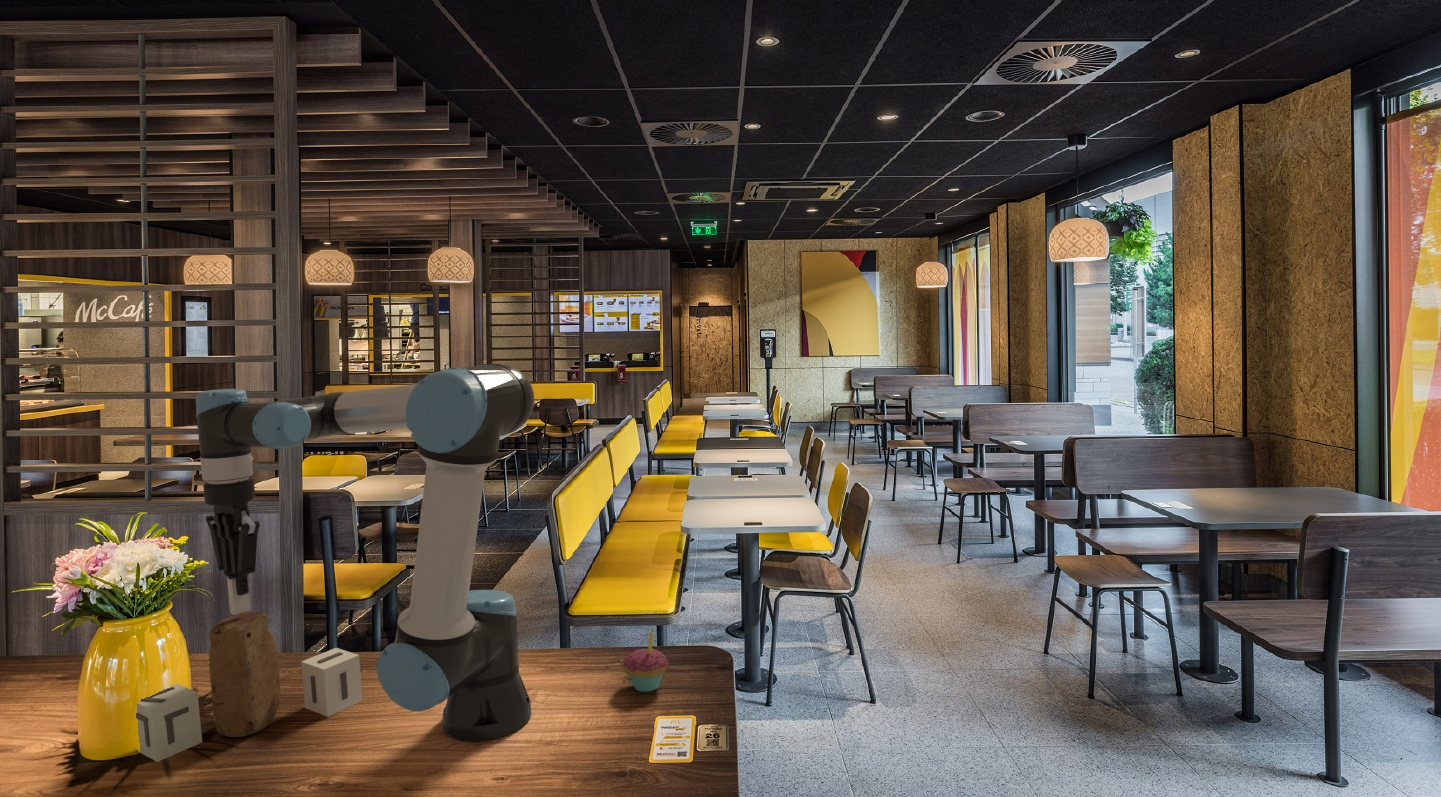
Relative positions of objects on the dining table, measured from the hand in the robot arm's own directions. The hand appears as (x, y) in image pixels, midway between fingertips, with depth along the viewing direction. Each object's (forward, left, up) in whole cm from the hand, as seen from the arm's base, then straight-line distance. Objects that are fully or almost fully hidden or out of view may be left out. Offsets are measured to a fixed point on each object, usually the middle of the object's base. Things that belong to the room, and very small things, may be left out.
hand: (240, 611), depth 143 cm
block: (0, 0, -21) cm, 21 cm away
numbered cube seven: (+5, +11, -21) cm, 24 cm away
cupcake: (-53, -46, -21) cm, 73 cm away
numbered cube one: (-6, -12, -21) cm, 25 cm away
